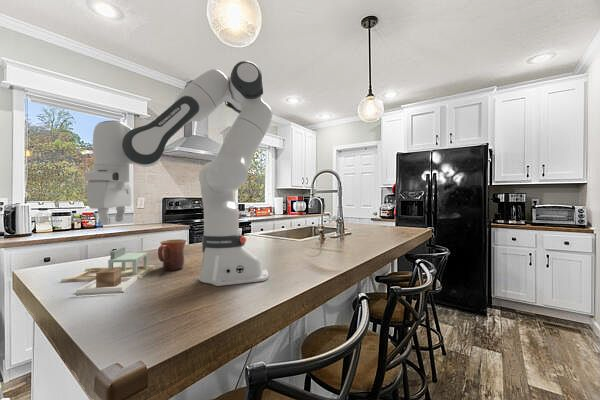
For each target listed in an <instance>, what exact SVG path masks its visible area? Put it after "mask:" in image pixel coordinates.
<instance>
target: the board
mask: <svg viewBox="0 0 600 400" xmlns="http://www.w3.org/2000/svg"><path fill="white" fill-rule="evenodd" d="M155 267H156V265H154V264H153V265H148V269H144V265H137V275H133V265H132V266H127V265H126V270H122V266H113V269H114V268H121V277H135V276H137V279H142V278H143V277H145V275H147V274H148V273H149V272H151V271H152V270H154V269H155ZM103 269H108V266H107V267H87V268H85V269H84V271H83V272H80V273H78V274H76V275H74V276H70V277H67V278H66V277H65V278H61V280H60V282H61V283H73V282H92V281H94V280H95V279H96V273H97V272H99V271H101V270H103Z"/></svg>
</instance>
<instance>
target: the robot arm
mask: <svg viewBox="0 0 600 400" xmlns="http://www.w3.org/2000/svg"><path fill="white" fill-rule="evenodd" d="M262 95H264V78H263V73H262V71H261V69H260V67H259V66H258V65H257V64H255V63H254V62H252V61H248V60H241V61H238V62H236V64H235V65H234V66H233V68H232V70H231V73H230V76H228V75H226V74H225V73H224V72H222V71H220V70H219V69H217V68H216V69H215V68H212V69H209V70H207V71H205V72H203V73H202V74H200V75H199V76H197V77H195V79H193V80H192V81H191V82H190V83H189V84H187V86H186V87H184V88H183V89H182V91H181V92H180V93H179V94H178V96H177V97H176V99H175V100H174V102H173V103H172V104H171V105H170V106H168V108H167V109H165V110H164V111H163V112H162V113H161V114H160V115H158V116H157V117H156V118H155V119H154V120H153V121H151V122H150V123H148V124H144V125H142V126H138V127H134V128H131V126H129V125H127V124H126V123H125V122H123V121H119V120H105V121H104V120H103V121H101V122H98V123H97V124H95V126H94V129H93V135H92V152H93V155H94V161H93V162H92V163H93V164H92V169H90V170H89V171H87V172H85V173H84V180H85V181H86V182H87V183H86V199H87V200H86V201H87V202H86V203H87V205H88V207H89V208H90V209H91V210H92V209H93V210H94V209H95V210H97V214H98V216H99V218H100V224H101V226H102V225H103V226H104V225H110V224H111V217H109V209H114V208H116V209H115V210H116V215H115V216H114V217H115V222H117V223H121V222H123V221H124V220H125V219H124V218H125V217H124V216H125V212H126V207H131V206H132V190H131V187H130V184H129V183H130V164H131V165H136V166H138V167H143V168H150V167H153V166H156V165H157V164H158V163H159V162H160V161H161V160H162V157H163V154H164V151H165V149H166V145H167V143H168V141H169V140H170V139H171V138H172V137H174V136H175V135H176V134H177V133H178V132H179V131H180V130H182V128H183V127H184V126H185V125H187V124H188V123H190V122H201V121H202V120H204V119H206V118H207V117H209V116H210V115H211V114H213V113H214V112H215V110H216V109H217V108H218V107H220V105H222V104H223V103H224V104H225V106H226V107H228V108H230V109H232V110H233V111H234V112H236V113H237V114H239V115H238V116H237V117H236V119H235V121H234V122H233V123H232V125H231V126H230V129H229V130H228V131H227V133H226V134H225V137H223V142H222V144H221V146H220V149H219V152H218V154H217V155H216V156H215V157H214V159H213V160H212V161H210V162H207V163H205V164H204V165H203V166H202V167H201V169H200V171H199V174H198V181H199V184H200V193H201V201H202V205H203V235H202V239H201V250H202V260H201V261H202V262H201V267H200V272H199V275H198V281H199V282H202V283H205V284H211V285H213V286H217V287H218V286H219V287H221V286H228V285H238V284H239V285H240V284H246V283H257V282H264V281H266V280H267V279H268V278H269V272H268V270H267V269H266V268H263V264H262V263H263V262H262V260H261V257H260V256H259V255H258V254H257V253H256V252H254V251H253V250H252V249H250V248H249V247H248V246H246V242H247V238H246V237H245V236H244V235H243V234H241V233H239V232H240V230H239V228H240V227H239V225H240V222H239V218H240V217H239V215H240V212H239V208H238V206H237V204H236V199H235V191H237V190H239V189H240V188H242V187H243V186H244V185H245V184H246V183H247V181H248V177H249V170H250V166H251V163H252V160H253V158H254V156H255V153H256V152H257V150H258V148H259V146H260V145H261V144H262V143H261V142H262V141H263V139H264V137H265V135H266V134H267V131H268V129H269V128H270V124H271V121H272V118H273V111H272V108H271V107H270V106H269V104H268V103H267V102H265V101H264V100H263V99H262Z"/></svg>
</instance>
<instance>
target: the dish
mask: <svg viewBox="0 0 600 400" xmlns="http://www.w3.org/2000/svg"><path fill="white" fill-rule="evenodd" d="M137 280H138V278H137V276H135V277H121V284H119V285H118V286H116V287H99V288H96V279H95V280H94V281H89V282H88V283H86V284H84V285H83V286H81V287H78V288H77V289H76V292H75V293H76V294H75V296H77V297H78V296H80V297H81V296H92V295H93V296H95V295H113V294H123V293H124V290H126V289H127V288H128V287H129V286H131V285H132V284H134V283H135V282H136V281H137Z"/></svg>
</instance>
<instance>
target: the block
mask: <svg viewBox="0 0 600 400" xmlns="http://www.w3.org/2000/svg"><path fill="white" fill-rule="evenodd" d="M119 284H121V268H114V269H103V270H101V271H99V272H97V273H96V288H99V287H116V286H118V285H119Z"/></svg>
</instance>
